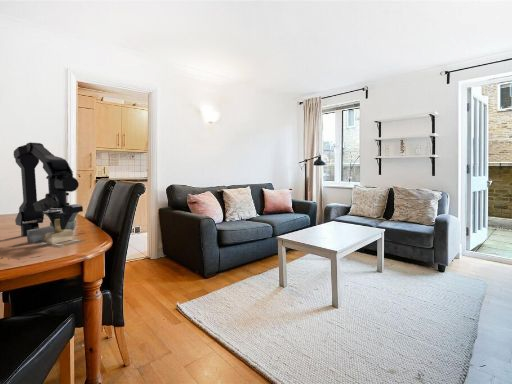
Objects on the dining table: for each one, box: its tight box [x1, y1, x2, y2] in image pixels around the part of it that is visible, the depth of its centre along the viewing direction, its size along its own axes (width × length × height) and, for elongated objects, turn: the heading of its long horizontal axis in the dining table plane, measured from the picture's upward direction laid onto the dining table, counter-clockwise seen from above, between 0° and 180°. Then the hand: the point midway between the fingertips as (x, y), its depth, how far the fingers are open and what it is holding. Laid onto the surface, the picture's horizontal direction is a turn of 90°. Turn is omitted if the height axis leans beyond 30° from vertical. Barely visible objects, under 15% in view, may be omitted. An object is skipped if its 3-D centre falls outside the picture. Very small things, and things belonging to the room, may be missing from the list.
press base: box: [23, 225, 87, 249], centre depth 114 cm, size 19×12×6 cm, turn 75°
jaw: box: [46, 219, 74, 245], centre depth 113 cm, size 3×9×9 cm, turn 165°
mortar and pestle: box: [49, 212, 80, 232], centre depth 130 cm, size 11×9×12 cm
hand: (59, 229), depth 113 cm, fingers closed on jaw, 3 cm apart
